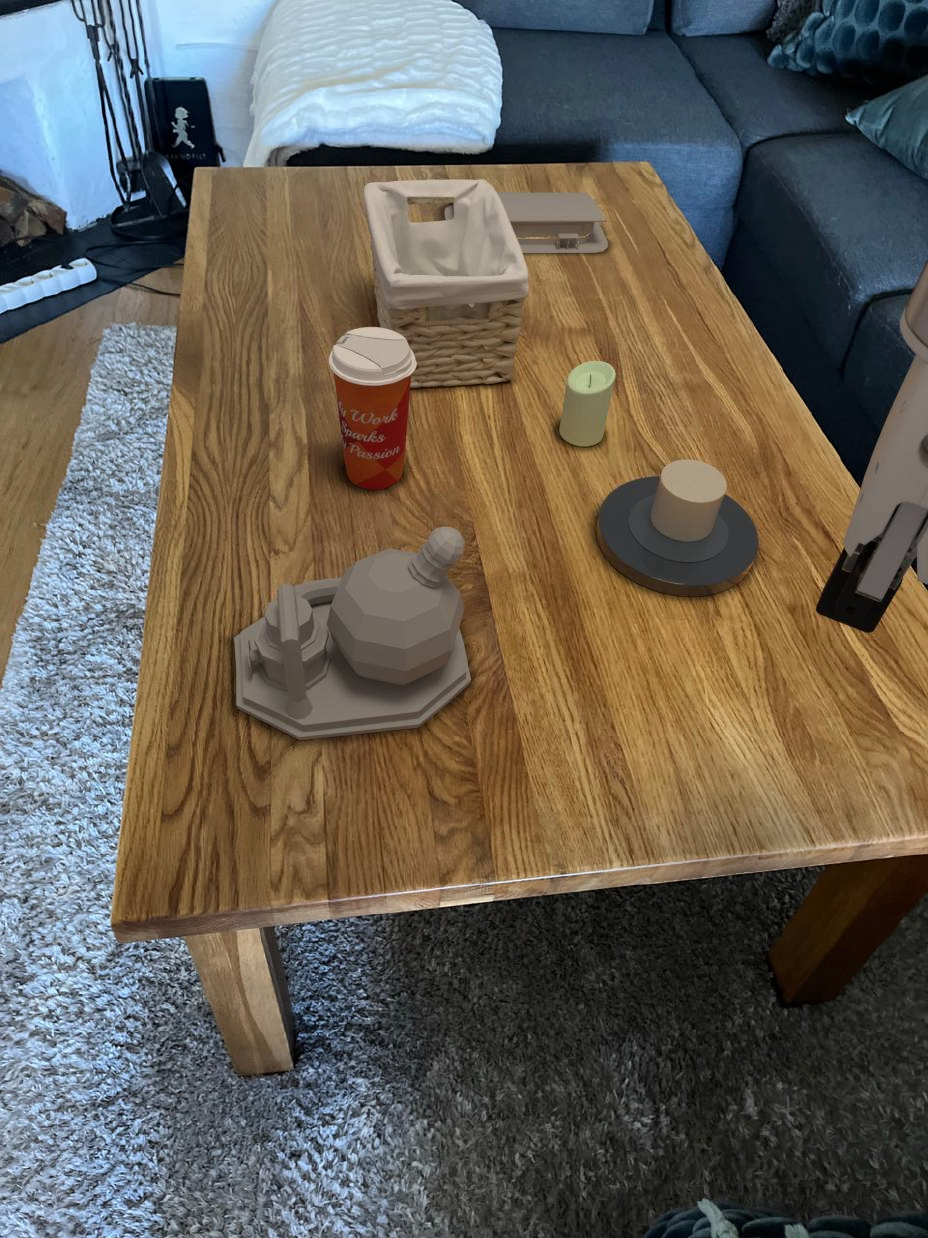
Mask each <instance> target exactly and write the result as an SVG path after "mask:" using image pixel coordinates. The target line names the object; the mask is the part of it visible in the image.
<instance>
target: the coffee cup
mask: <svg viewBox="0 0 928 1238" xmlns="http://www.w3.org/2000/svg"><path fill="white" fill-rule="evenodd" d="M335 343H336V344H334V345H333V347H332V349H331V351H330V354H329V356H328V365H329V367H330V369H331V371H332V372H333V377H334V379H333V380H334V387H335V394H336V395H335V396H336V402H337V403H336V405H337V412H338V418H339V427H340V434H341V435H340V436H341V442H342V450H343V458H344V464H345V471H346V475H347V478H348V479H349V481H350V482H351V483H352V484H354V485H355V486H357V487H359V488H361V489H364V490H370V491H371V490H372V491H379V490H385V489H388V488H391V487H393V486H395V485H396V484H397V483H398V482H400V480H401V479H402V476H403V473H404V466H405V456H406V445H407V432H408V422H409V421H408V420H409V407H410V397H411V388H410V384H411V374H412V373H413V372H414V370H415V369H416V366H417V363H416V359H415V356H414V354H413V352H412V350H411V349H410V347H409V345H408V342H407V340H406V339H405V338H404V337H403V336H402V335H400V334H399V333H397V332H395V331H392V330H389V329H385V328H380V326H377V327H376V326H364V327H358V328H354V329H351V330H348V331H346V332H345V333H344V335H342V336H341V337H340V338H339V339H338V340H337V341H336V342H335Z"/></svg>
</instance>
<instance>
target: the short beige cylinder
mask: <svg viewBox="0 0 928 1238" xmlns="http://www.w3.org/2000/svg"><path fill="white" fill-rule="evenodd" d="M659 476H660V479H659V483H658V486H657V490H656V494H655V497H654V501H653V505H652V508H651V512H650V519H651V522H652V524H653V526H654V527H655V528H656V529H657V530H658V531H659V532H660V533H662V534H663V535H665V536H667V537H669V538H671V539H674V540H678V541H684V542H693V541H698V540H701V539H704V538H706V537H707V536H708V535H709V534H710V533H711V532H712V530H713V527H714V524H715V521H716V519H717V516H718V513H719V510H720V507H721V504H722V501H723V498H724V495H725V494H726V493H727V489H728V483H727V480H726V477H725V476H724V475H723V473H722V472H721V471H720V470H719V469H717V468H716V467H714V466H713V465H711V464H709V463H706V462H704V461H701V460H697V459H689V458H688V459H677V460H674V461H671V462H669V463H667V464H666V465H665V466H664V467H663V468H662V470H661V472H660V475H659Z"/></svg>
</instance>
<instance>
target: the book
mask: <svg viewBox="0 0 928 1238" xmlns="http://www.w3.org/2000/svg"><path fill="white" fill-rule="evenodd" d="M496 193H497V194H498V195H499V197H500V199H501V201H502V203H503V206H504V208H505V210H506V213H507V216H508V218H509V221H510V223H511V225H512V228H513V231H514V233H515V235H516V237H517V238H518V237H519V238H526V237H548V236H552V237H554V236H555V237H556V238H557V240H556V239H517V240H518V242H519V245H520V247H521V250H522V253H523V254H597V253H603V252H604V251H606V250H607V249H608V248H609V242H608V239H607V237H606V235H605V233H604V230H603V228H602V226H601V224H600V223H606V218H605V215H604V214H603V212H602V210H601V209H600V207H599V205H598V204H597V202H596V201H595V199H593V197H591V196H590V194H587V193H585V192H496ZM443 215H444V218H445V219H444V220H451V219H453V217H454V204H450V205H448V206H447V207H445V209H444V212H443ZM589 233H590V234H589ZM587 234H589V235H588V236H586V235H587ZM558 236H559V238H558ZM579 236H586V237H585V238H579ZM557 241H558V243H557ZM578 241H579V243H578ZM559 242H560V244H559ZM568 242H569V244H568Z"/></svg>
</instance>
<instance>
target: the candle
mask: <svg viewBox="0 0 928 1238" xmlns="http://www.w3.org/2000/svg"><path fill="white" fill-rule="evenodd" d="M616 376H617V373H616V370H615V367H613V366H612V364H610V363H608V362H605V361H601V360H591V361H586V362H583V363H581V364H579V365H577V366H575V367H574V368H573V369H572V370H571V371H570V372H569V374H568V376H567V380H566V386H565V393H564V398H563V404H562V410H561V416H560V422H559V429H558V433H559V435H560V437H561V438H562V439H563V440H564V441H565V442H566V443H569V444H571V445H573V446H576V447H586V448H587V447H593V446H595V445H598V444H599V443H600V442H601V441H602V439H603V438H604V434H605V429H606V423H607V419H608V415H609V410H610V404H611V400H612V396H613V390H614V385H615V381H616Z"/></svg>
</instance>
